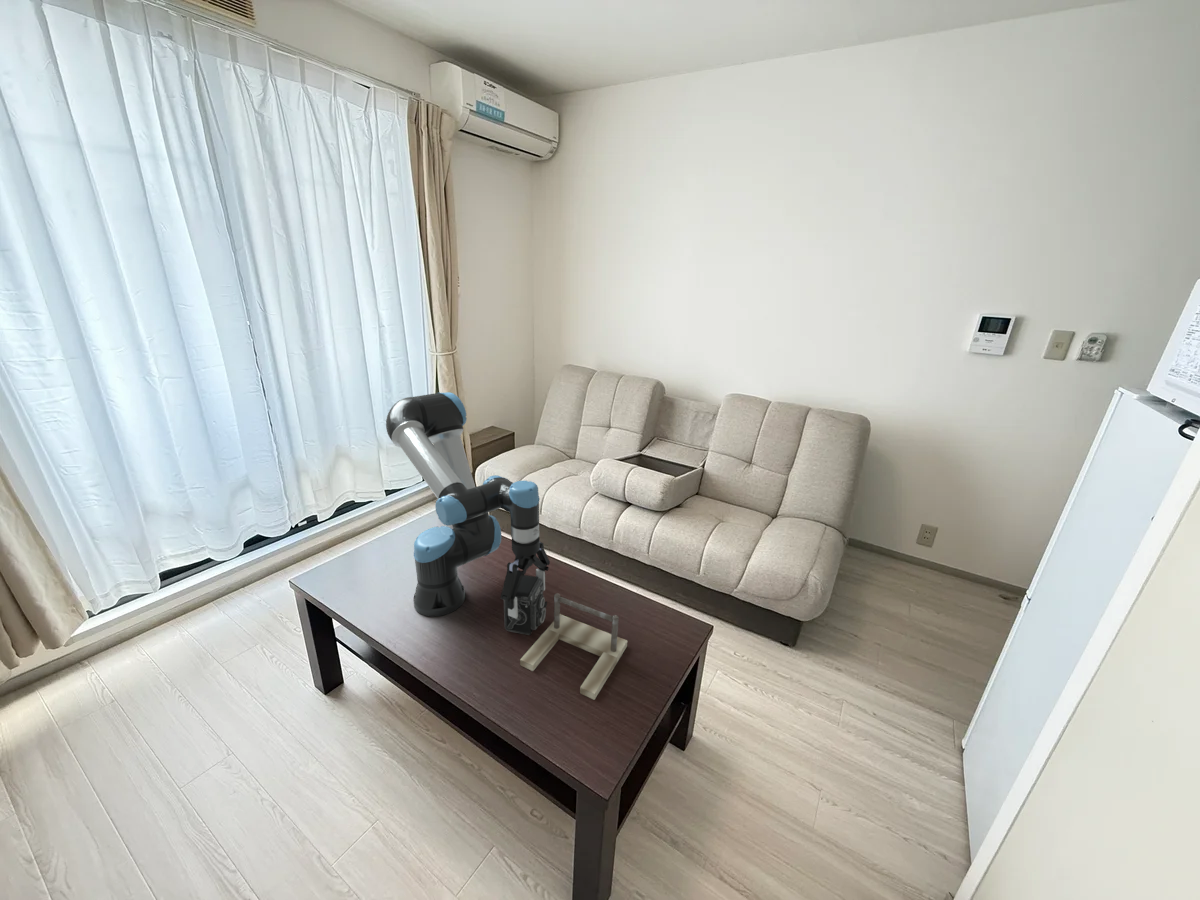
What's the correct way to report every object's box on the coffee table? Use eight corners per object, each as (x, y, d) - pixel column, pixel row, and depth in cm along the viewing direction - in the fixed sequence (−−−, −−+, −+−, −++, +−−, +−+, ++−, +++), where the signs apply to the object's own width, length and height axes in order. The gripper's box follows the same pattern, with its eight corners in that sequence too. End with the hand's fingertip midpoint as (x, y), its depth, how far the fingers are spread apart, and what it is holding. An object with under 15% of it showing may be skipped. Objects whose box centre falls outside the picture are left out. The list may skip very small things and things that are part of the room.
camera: (538, 641, 129) (538, 597, 124) (503, 635, 131) (501, 591, 126) (549, 617, 139) (549, 575, 133) (516, 611, 140) (515, 569, 135)
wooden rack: (520, 665, 121) (519, 625, 116) (559, 619, 138) (560, 583, 133) (594, 700, 112) (596, 658, 107) (627, 646, 129) (630, 608, 124)
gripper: (508, 563, 112) (511, 633, 119) (561, 521, 133) (561, 582, 140) (484, 555, 115) (488, 624, 122) (539, 514, 136) (540, 575, 144)
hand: (527, 602), depth 131 cm, fingers open, 13 cm apart
